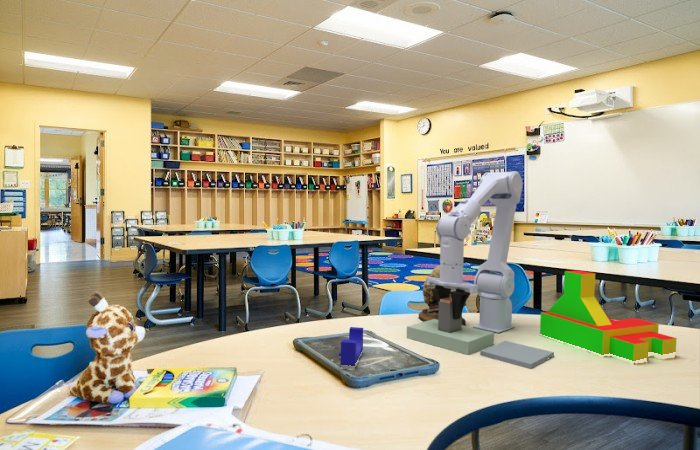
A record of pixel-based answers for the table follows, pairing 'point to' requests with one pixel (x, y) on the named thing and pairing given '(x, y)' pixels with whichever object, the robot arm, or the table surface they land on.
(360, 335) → the blue stepped block
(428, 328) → the socket block
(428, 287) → the owl figurine
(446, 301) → the plug
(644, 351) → the building blocks toy
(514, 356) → the mat
